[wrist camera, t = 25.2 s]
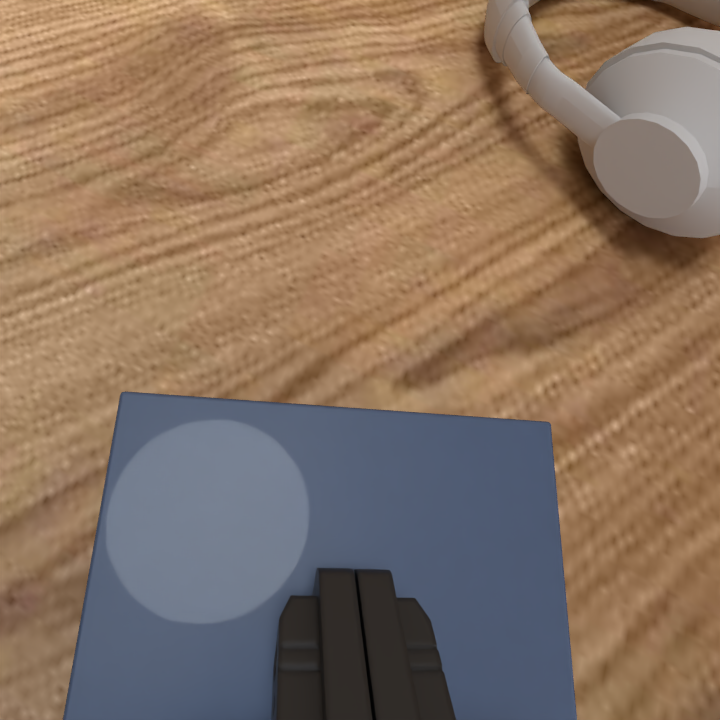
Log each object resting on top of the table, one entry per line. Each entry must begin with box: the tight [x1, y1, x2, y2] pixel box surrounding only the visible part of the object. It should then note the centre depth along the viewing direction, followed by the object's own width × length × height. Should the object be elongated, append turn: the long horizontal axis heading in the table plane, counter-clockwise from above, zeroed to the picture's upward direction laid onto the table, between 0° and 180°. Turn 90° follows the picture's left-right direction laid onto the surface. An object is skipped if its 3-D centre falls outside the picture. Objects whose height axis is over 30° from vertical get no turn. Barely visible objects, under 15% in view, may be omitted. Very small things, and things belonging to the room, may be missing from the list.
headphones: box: [484, 0, 720, 238], centre depth 28 cm, size 18×8×20 cm
